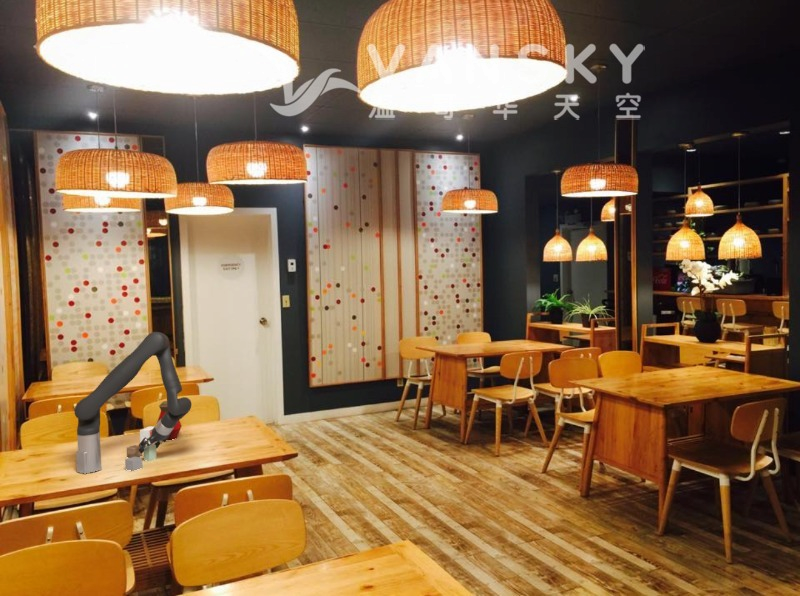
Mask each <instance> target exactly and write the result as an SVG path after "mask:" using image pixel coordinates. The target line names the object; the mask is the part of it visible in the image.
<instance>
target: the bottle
mask: <svg viewBox="0 0 800 596" xmlns="http://www.w3.org/2000/svg"><path fill="white" fill-rule="evenodd" d="M158 407H159V409H160V413H159V416H158V419H157V422H156V424H157V423H158V421H159V420H160V419H161V418H162V417H163V416H164V414H165V413H166V412H167V411H169V410H168V407H167V400H165V401H162V402H161V403H160V404H159V406H158ZM181 428H182V423H181V421H180V420H179V421H178V422H177V424H176V425H175V426H174V428H173V430H172V431H171V433H170V436H169V438H168V439H167V440H171V441H173V440H172V439H174V440H176V439H177V438H178V436H179V432H181ZM175 438H176V439H175Z"/></svg>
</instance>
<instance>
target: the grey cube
mask: <svg viewBox="0 0 800 596" xmlns="http://www.w3.org/2000/svg"><path fill="white" fill-rule="evenodd" d="M124 463H125V466H124V467H125V470H126V469H127V470H131V471H130V472H132V471H134V470H137V469H140V468H142V469H143V457H132V458H125V460H124ZM127 470H126V471H127ZM140 470H141V469H140ZM137 471H138V470H137ZM134 472H135V471H134Z"/></svg>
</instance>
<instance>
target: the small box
mask: <svg viewBox="0 0 800 596" xmlns="http://www.w3.org/2000/svg"><path fill="white" fill-rule="evenodd" d="M154 427H155V425H154V426H152V425H151V426H150V425H148V426H146V427H144V428H142V429H139V442H140V443H141V441H142V440H143V439H144V438H145V437H146V438H149V437H150V436H151V434H152V430H153V428H154ZM140 443H139V444H140ZM148 443H149V444H151V443H150V442H148ZM154 444H155V443H154ZM154 444H153V445H154ZM146 445H147V444H146Z"/></svg>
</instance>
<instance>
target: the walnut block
mask: <svg viewBox="0 0 800 596" xmlns="http://www.w3.org/2000/svg"><path fill="white" fill-rule="evenodd" d="M139 449H140V447H139V444H138V445H137V444H133V445H131V446H127V447H126V458H127V457H128V458H127V459H129V458H132V457H139V458H141V457H140V456H142V457H144V454H143V453H140V452H139Z"/></svg>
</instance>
